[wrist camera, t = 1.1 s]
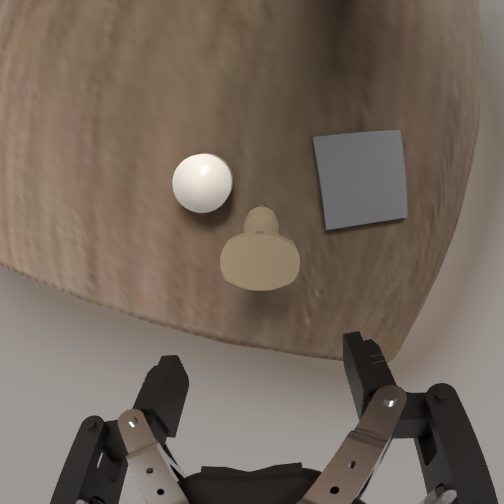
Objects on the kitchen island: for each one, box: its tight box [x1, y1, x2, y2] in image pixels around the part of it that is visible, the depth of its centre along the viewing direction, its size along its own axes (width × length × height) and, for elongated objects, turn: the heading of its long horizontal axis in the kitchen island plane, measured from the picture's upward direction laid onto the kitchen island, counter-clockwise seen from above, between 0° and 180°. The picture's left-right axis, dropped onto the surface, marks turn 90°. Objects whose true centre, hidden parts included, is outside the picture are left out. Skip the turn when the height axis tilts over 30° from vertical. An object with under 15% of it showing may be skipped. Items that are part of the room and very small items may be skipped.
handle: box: [220, 205, 300, 291], centre depth 30 cm, size 5×6×15 cm
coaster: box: [312, 130, 407, 230], centre depth 34 cm, size 12×12×1 cm
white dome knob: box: [173, 153, 234, 213], centre depth 34 cm, size 7×7×4 cm
